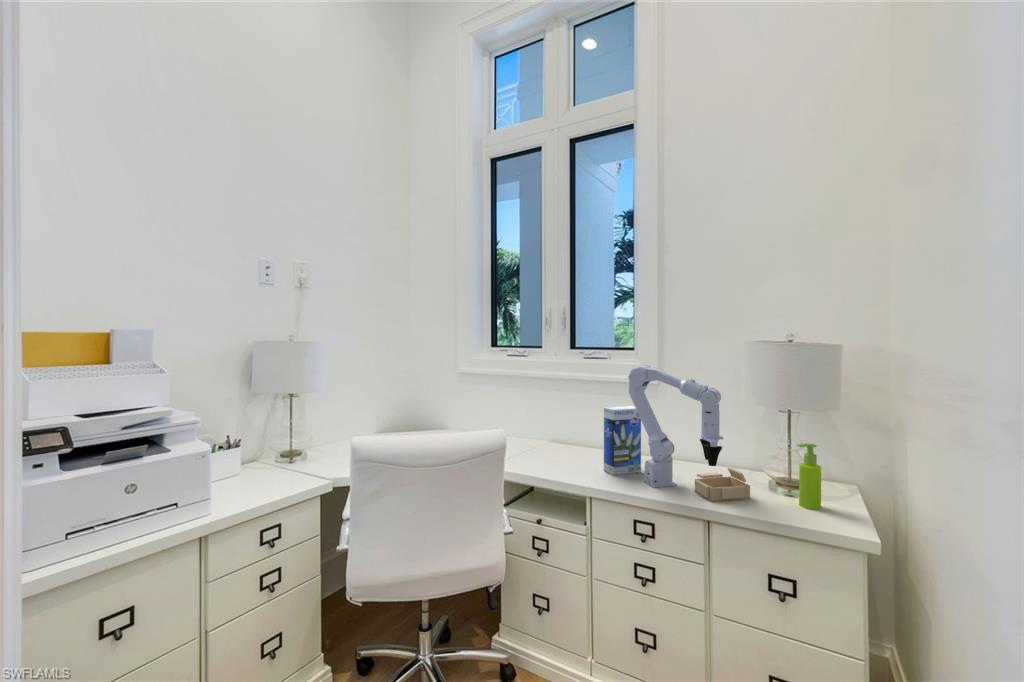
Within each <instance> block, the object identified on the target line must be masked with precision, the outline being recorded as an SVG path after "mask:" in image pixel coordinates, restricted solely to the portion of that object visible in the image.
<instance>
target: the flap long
mask: <svg viewBox="0 0 1024 682" xmlns="http://www.w3.org/2000/svg"><path fill="white" fill-rule="evenodd" d="M696 477H698V478H700V479H702V478H716V477H724V476H723V474H722V473H718V472H708V473H707V472H706V473H696Z"/></svg>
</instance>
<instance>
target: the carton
mask: <svg viewBox="0 0 1024 682" xmlns="http://www.w3.org/2000/svg"><path fill="white" fill-rule="evenodd" d="M694 493H696V494H698V495H699V494H700V495H699V496H701V497H702V498H705V499H706V500H709V502H711V503H719V502H728V501H730V502H731V501H742V500H743V501H744V500H750V499H751V485H749V484H748V483H747V482H743V481H741V480H738V479H736V478H734V477H732V476H731V475H730V476H723V477H713V478H694Z"/></svg>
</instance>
